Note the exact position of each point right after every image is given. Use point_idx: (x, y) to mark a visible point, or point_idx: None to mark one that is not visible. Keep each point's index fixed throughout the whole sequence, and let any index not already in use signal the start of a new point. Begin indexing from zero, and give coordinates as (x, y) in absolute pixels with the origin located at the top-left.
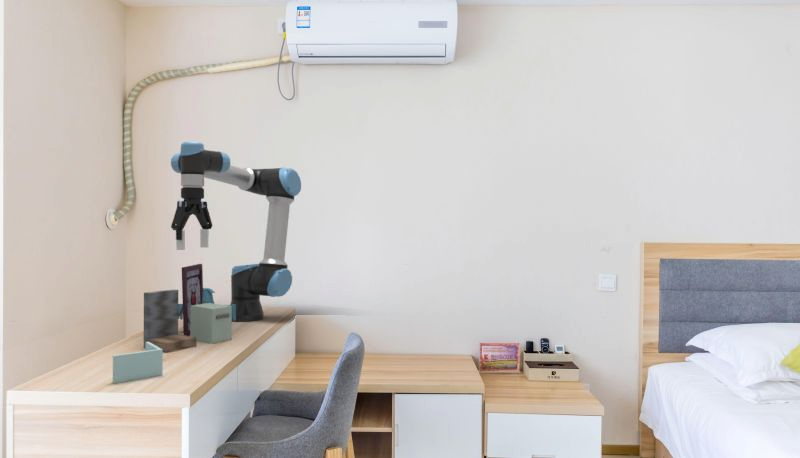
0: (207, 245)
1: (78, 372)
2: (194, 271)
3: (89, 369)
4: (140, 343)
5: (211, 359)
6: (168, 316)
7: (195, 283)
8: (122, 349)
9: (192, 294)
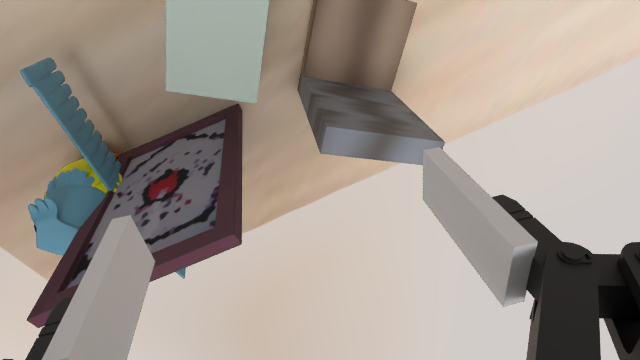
0: (120, 226)
1: (592, 35)
2: None
3: (569, 36)
4: None
5: None
6: (346, 99)
7: None
8: None
9: (167, 193)
